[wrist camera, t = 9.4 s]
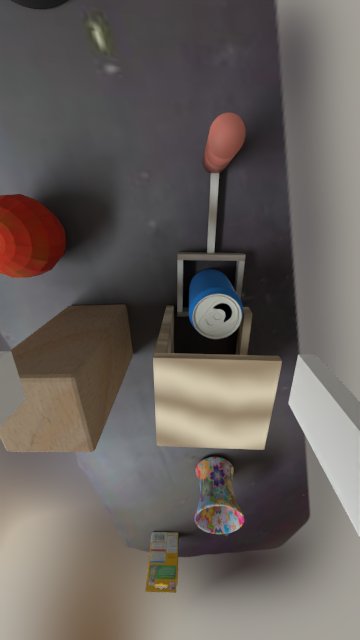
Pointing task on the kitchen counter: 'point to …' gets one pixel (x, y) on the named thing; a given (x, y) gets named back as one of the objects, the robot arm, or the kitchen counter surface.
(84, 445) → the wooden block
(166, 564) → the crayon box
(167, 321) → the open wooden box
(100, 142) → the kitchen counter surface
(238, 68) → the kitchen counter surface
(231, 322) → the beverage can
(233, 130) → the square frame pulling tool
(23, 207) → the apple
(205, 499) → the mug
